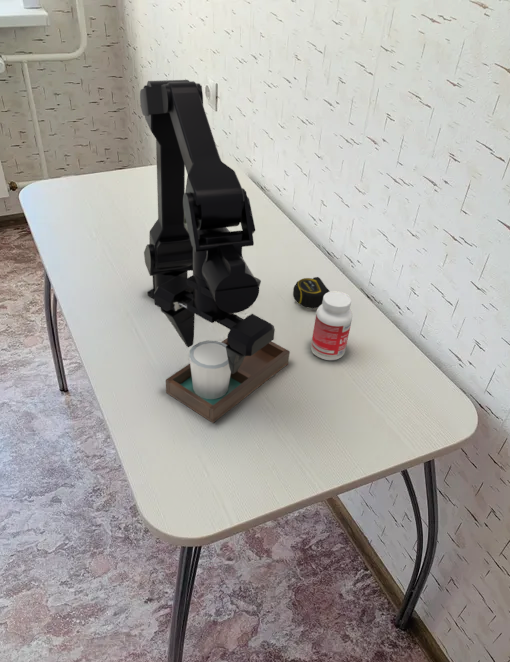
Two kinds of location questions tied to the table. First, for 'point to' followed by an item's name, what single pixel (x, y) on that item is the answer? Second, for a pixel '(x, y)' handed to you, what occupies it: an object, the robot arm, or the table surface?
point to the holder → (240, 383)
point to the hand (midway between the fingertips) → (211, 358)
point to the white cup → (209, 369)
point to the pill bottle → (332, 326)
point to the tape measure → (310, 292)
